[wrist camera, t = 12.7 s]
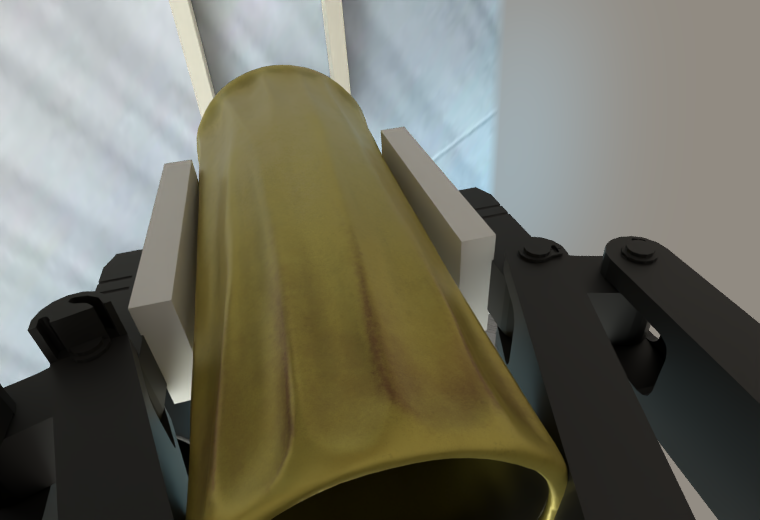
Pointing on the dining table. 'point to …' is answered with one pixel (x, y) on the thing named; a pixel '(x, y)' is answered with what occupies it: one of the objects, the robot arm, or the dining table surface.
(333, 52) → the cream rectangular frame
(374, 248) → the vase
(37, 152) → the dining table surface
